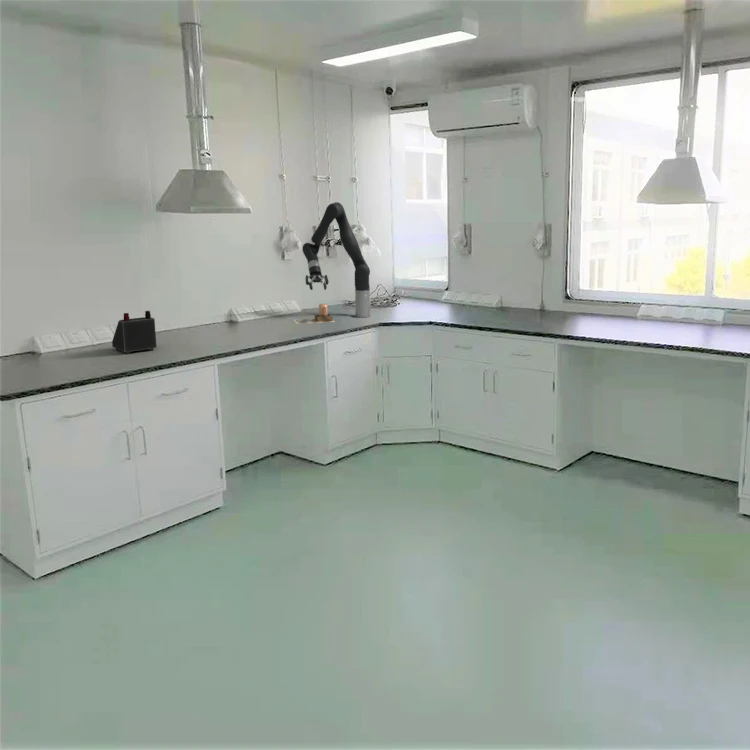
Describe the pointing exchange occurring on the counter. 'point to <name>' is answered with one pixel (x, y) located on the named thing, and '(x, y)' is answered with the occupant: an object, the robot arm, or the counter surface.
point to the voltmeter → (135, 334)
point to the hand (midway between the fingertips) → (318, 289)
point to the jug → (323, 310)
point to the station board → (316, 320)
